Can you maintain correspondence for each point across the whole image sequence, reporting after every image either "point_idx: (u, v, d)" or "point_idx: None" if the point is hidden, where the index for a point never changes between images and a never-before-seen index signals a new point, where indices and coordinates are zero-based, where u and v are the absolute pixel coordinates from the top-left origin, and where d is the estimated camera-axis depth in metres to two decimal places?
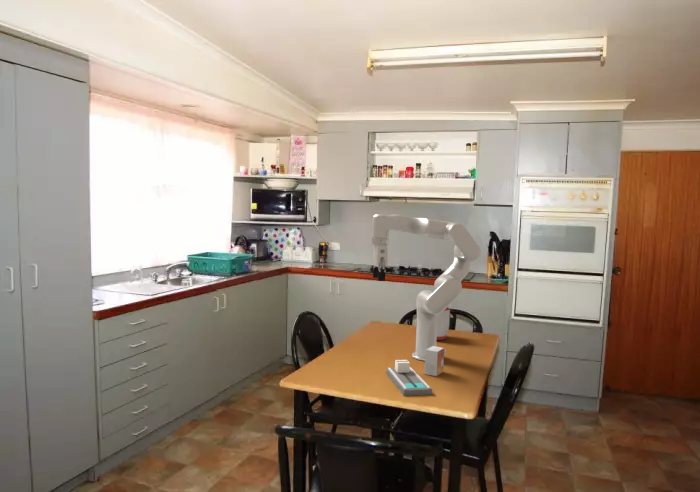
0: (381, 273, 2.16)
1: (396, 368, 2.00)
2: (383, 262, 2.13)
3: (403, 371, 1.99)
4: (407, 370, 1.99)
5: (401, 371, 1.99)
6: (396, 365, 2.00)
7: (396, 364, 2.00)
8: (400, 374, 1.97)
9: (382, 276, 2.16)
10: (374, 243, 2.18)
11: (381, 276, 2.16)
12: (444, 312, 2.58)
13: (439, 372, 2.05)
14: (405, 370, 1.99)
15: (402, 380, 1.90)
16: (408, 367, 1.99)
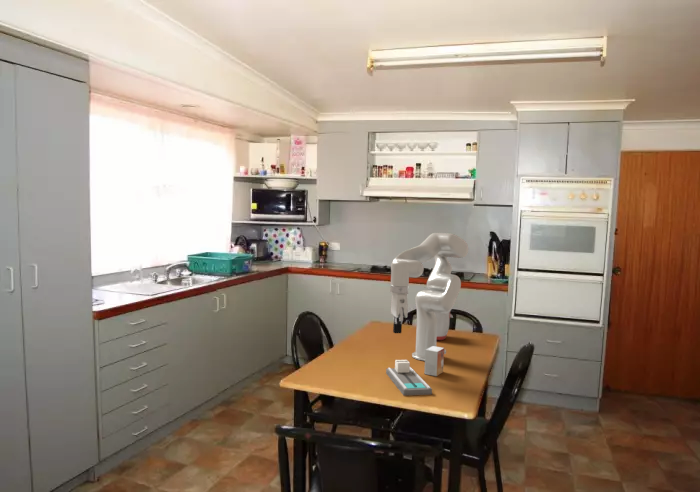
0: (397, 325, 2.06)
1: (396, 368, 2.00)
2: (401, 319, 2.02)
3: (403, 371, 1.99)
4: (407, 370, 1.99)
5: (401, 371, 1.99)
6: (396, 365, 2.00)
7: (396, 364, 2.00)
8: (400, 374, 1.97)
9: (398, 328, 2.06)
10: (393, 292, 2.04)
11: (397, 328, 2.06)
12: None
13: (439, 372, 2.05)
14: (405, 370, 1.99)
15: (402, 380, 1.90)
16: (408, 367, 1.99)
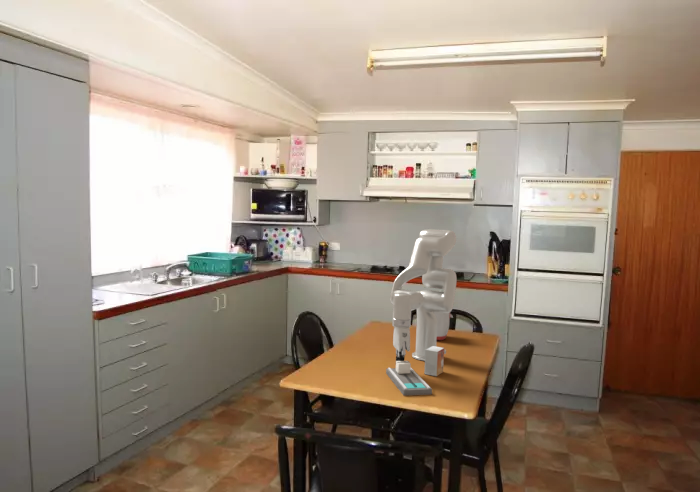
0: (400, 359, 2.02)
1: (397, 369, 1.99)
2: (403, 353, 1.98)
3: (404, 372, 1.98)
4: (408, 371, 1.98)
5: (402, 372, 1.97)
6: (397, 366, 1.99)
7: (397, 365, 1.99)
8: (400, 374, 1.97)
9: None
10: (395, 325, 2.00)
11: None
12: None
13: (439, 372, 2.05)
14: (406, 371, 1.98)
15: (402, 380, 1.90)
16: (409, 368, 1.98)
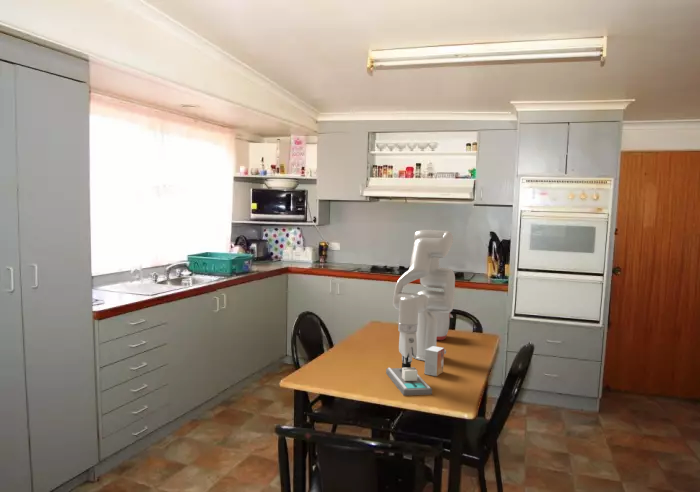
0: (406, 365, 1.93)
1: (403, 376, 1.90)
2: (410, 359, 1.89)
3: (410, 379, 1.89)
4: (415, 378, 1.89)
5: (408, 379, 1.89)
6: (403, 373, 1.90)
7: (403, 372, 1.90)
8: (400, 374, 1.97)
9: None
10: (401, 330, 1.91)
11: None
12: None
13: (439, 372, 2.05)
14: (413, 378, 1.89)
15: (402, 380, 1.90)
16: (416, 375, 1.89)
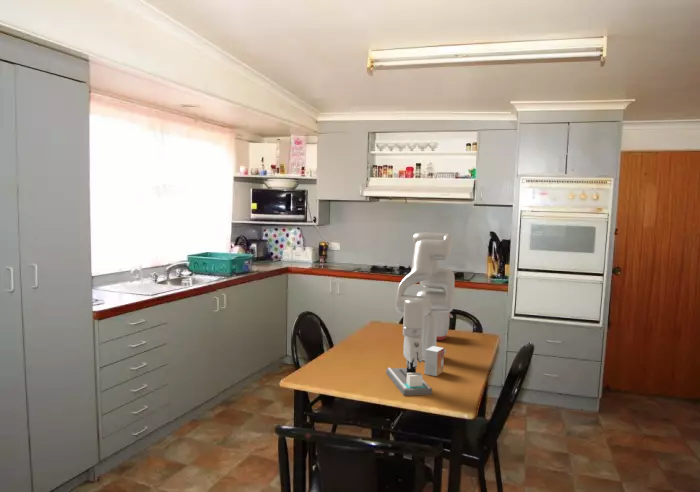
0: (411, 370, 1.87)
1: (408, 382, 1.84)
2: (415, 365, 1.83)
3: (415, 385, 1.83)
4: (420, 384, 1.83)
5: (413, 385, 1.83)
6: (408, 378, 1.84)
7: (408, 377, 1.84)
8: (400, 374, 1.97)
9: None
10: (406, 334, 1.85)
11: None
12: (444, 312, 2.58)
13: (439, 372, 2.05)
14: (418, 384, 1.83)
15: (402, 380, 1.90)
16: (421, 381, 1.83)
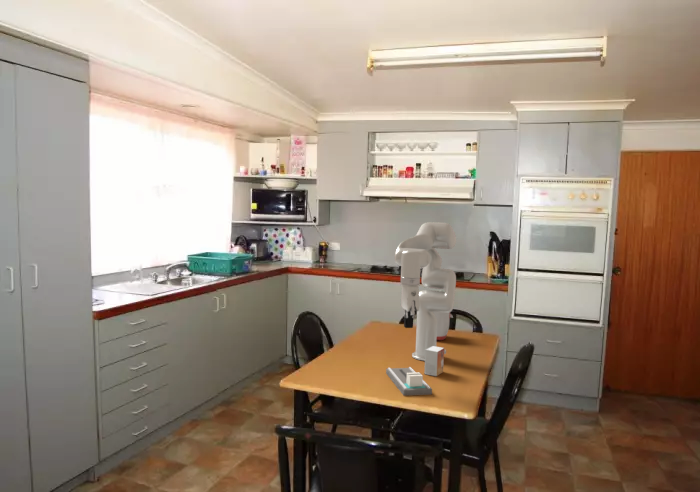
0: (408, 319, 1.92)
1: (408, 382, 1.84)
2: (412, 313, 1.88)
3: (415, 385, 1.83)
4: (420, 384, 1.83)
5: (413, 385, 1.83)
6: (408, 378, 1.84)
7: (408, 377, 1.84)
8: (400, 374, 1.97)
9: (410, 323, 1.92)
10: (404, 284, 1.90)
11: (408, 323, 1.92)
12: None
13: (439, 372, 2.05)
14: (418, 384, 1.83)
15: (402, 380, 1.90)
16: (421, 380, 1.83)
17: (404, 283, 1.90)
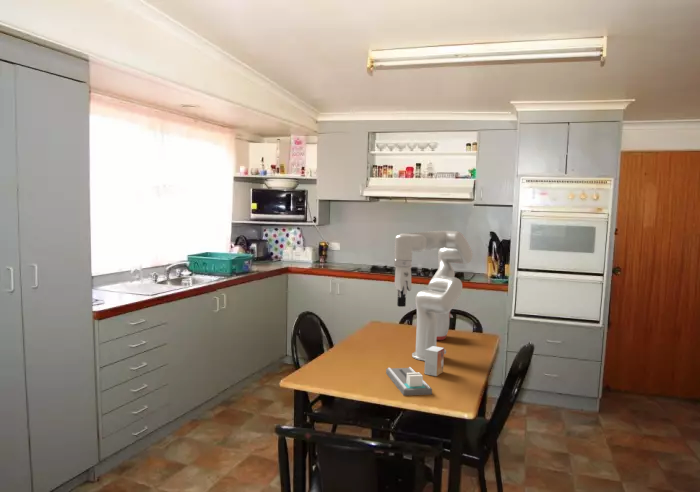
0: (401, 299, 2.09)
1: (408, 382, 1.84)
2: (405, 292, 2.05)
3: (415, 385, 1.83)
4: (420, 384, 1.83)
5: (413, 385, 1.83)
6: (408, 378, 1.84)
7: (408, 377, 1.84)
8: (400, 374, 1.97)
9: (402, 302, 2.09)
10: (397, 265, 2.06)
11: (401, 302, 2.09)
12: None
13: (439, 372, 2.05)
14: (418, 384, 1.83)
15: (402, 380, 1.90)
16: (421, 380, 1.83)
17: (397, 265, 2.06)
